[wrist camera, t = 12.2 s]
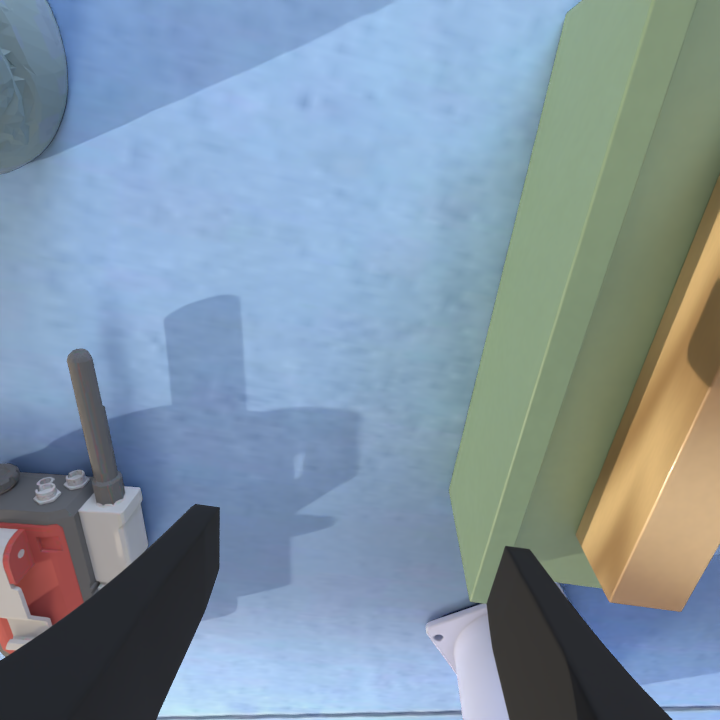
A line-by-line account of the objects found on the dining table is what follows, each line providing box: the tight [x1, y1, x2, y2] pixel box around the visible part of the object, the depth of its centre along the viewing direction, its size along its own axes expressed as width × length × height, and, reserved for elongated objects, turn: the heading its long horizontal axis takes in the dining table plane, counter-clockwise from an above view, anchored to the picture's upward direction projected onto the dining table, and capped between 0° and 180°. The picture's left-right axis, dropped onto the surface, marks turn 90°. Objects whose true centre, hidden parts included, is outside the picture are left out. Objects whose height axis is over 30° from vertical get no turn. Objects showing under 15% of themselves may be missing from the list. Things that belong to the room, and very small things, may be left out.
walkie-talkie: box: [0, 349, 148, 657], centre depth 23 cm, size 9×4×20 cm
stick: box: [576, 174, 720, 612], centre depth 14 cm, size 15×2×3 cm, turn 173°
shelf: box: [449, 0, 720, 604], centre depth 17 cm, size 20×9×6 cm, turn 173°
